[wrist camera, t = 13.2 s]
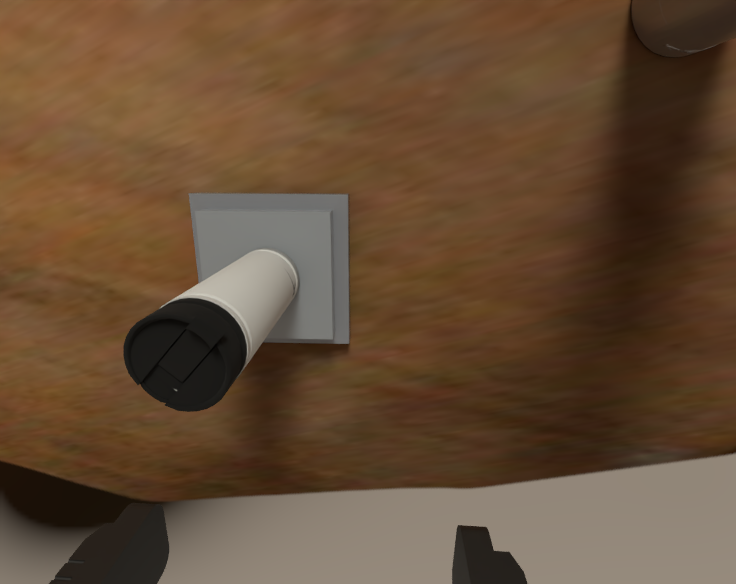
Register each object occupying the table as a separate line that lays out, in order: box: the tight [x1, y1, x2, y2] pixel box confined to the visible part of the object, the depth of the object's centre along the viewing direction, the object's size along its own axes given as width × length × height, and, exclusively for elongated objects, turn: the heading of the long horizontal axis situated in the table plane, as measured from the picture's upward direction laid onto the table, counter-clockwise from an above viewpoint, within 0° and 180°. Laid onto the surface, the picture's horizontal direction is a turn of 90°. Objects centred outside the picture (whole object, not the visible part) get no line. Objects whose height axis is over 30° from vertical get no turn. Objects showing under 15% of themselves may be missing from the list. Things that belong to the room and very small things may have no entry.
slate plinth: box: [189, 193, 350, 344], centre depth 43 cm, size 16×16×4 cm
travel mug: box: [124, 248, 300, 412], centre depth 32 cm, size 6×7×20 cm
